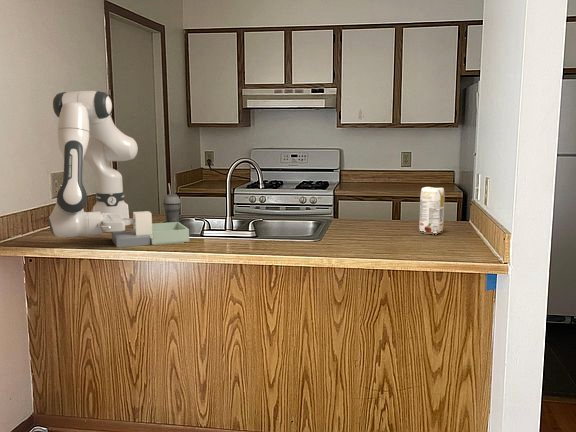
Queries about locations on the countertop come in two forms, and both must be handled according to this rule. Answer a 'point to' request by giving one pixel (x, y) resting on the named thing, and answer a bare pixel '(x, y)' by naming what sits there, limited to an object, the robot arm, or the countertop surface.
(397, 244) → the countertop surface
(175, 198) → the beverage cup
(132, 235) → the board
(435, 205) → the juice carton
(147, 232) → the off-white upright block
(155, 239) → the box
